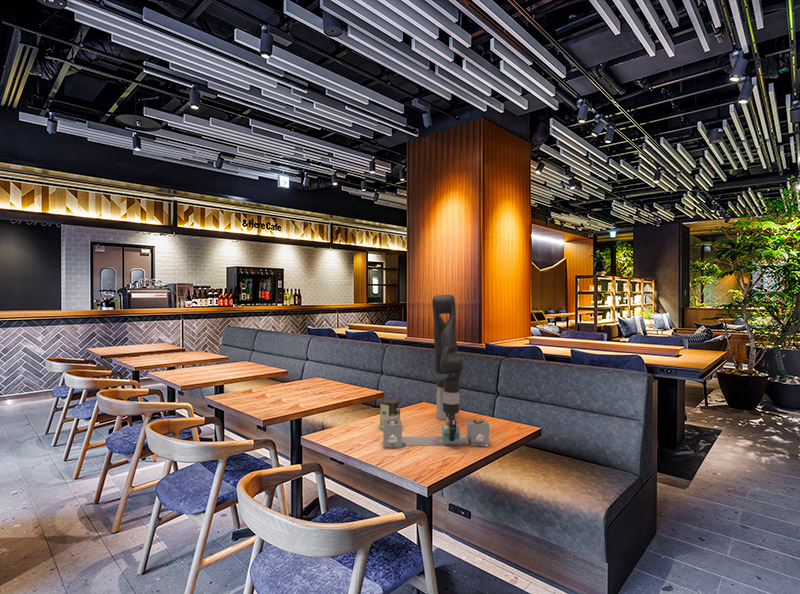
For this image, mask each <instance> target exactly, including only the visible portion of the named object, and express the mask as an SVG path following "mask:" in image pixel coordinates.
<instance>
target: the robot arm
mask: <svg viewBox="0 0 800 594" xmlns="http://www.w3.org/2000/svg"><path fill="white" fill-rule="evenodd" d="M431 301H432V303H431V306H432V316H433V317H432V318H433V342H434V362H433V363H434V365H433V366H434V368H433V369H434V371H435V373H436V374H437V375H439V374H440V375H447V376H446V377H444V378H441V379H438V380H437V381H436V410H435V411H436V415H435V416H436V418H437V419H439V420H444V421H445V426H448V427H449V440H450V441H454V440H455V433H456V426H457V422H458V421H457V416H456V414H458V413H460V401H461V400H460V381H461V376H462V374H463V370H464V365H465V364H464V360H463V359H462V358H461V357H460V356H459V357H458V356H453V357H452V356H450V355H453V354H455V353H456V354H457V352H458V339H457V331H456V330H457V329H456V326H457V325H456V324H457V322H456V321H457V316H456V314H457V313H456V311H457V309H456V308H457V307H456V299H455V296H454V295H453V294H439V295H433V297H432V299H431ZM445 314H446V315H447V314H448V315H449V316H448V321H447V323H446V321H445V320H443V319H444V318H442V316H441V315H445ZM452 428H453V429H454V430H452Z"/></svg>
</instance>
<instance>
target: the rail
mask: <svg viewBox="0 0 800 594" xmlns="http://www.w3.org/2000/svg"><path fill="white" fill-rule="evenodd" d="M407 446H409V447H412V446H415V447H417V446H419V447H420V446H463V447H469V443H468V438H467V435H460V441H459V443H444V438H443V436H442V435H441V436H440V435H438V436H436V435H435V436H426V435H424V436H402V448H406V447H407Z"/></svg>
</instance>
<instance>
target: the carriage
mask: <svg viewBox="0 0 800 594" xmlns="http://www.w3.org/2000/svg"><path fill="white" fill-rule="evenodd" d="M452 430H454V429H453V428H452ZM441 436H443V438H444V443H459V441H460V436H461V432H460V427H458V425H456V433H455V440H454V441H450V440H449V427H448V426H447V425H442V426H441Z"/></svg>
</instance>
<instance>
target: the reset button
mask: <svg viewBox="0 0 800 594" xmlns="http://www.w3.org/2000/svg"><path fill="white" fill-rule="evenodd" d="M474 419H475V423H481V419H482V416H481V415H480V414H477V415H474Z"/></svg>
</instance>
